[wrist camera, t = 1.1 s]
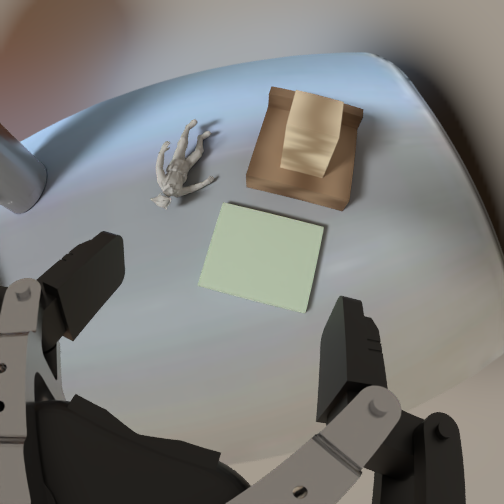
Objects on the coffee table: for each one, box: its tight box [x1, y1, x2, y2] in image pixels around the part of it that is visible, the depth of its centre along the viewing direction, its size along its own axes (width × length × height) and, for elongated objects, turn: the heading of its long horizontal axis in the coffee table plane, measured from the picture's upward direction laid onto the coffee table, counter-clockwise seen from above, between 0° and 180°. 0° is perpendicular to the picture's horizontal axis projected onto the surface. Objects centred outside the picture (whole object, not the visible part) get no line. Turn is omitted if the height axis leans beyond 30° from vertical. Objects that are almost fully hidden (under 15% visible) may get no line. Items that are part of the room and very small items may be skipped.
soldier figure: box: [151, 119, 214, 210], centre depth 35 cm, size 8×5×12 cm
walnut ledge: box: [246, 87, 363, 211], centre depth 35 cm, size 12×12×6 cm
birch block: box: [280, 90, 344, 178], centre depth 30 cm, size 5×5×8 cm
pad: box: [198, 203, 324, 313], centre depth 34 cm, size 12×10×1 cm
